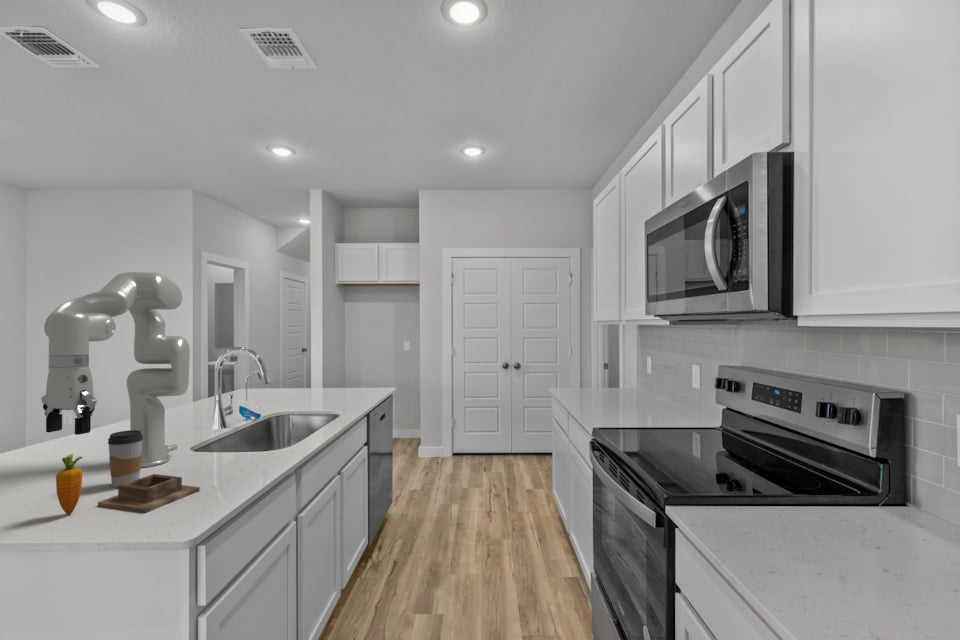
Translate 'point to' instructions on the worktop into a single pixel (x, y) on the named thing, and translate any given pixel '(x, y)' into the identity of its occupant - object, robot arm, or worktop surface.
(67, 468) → the carrot
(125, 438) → the coffee cup
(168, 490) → the walnut stand
